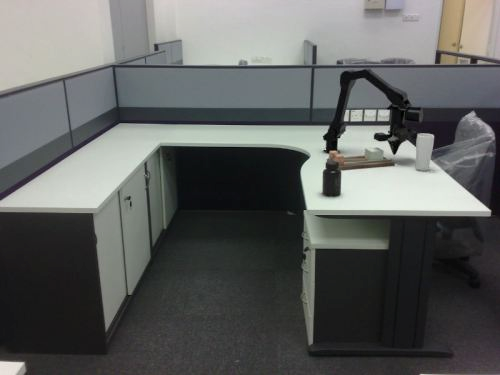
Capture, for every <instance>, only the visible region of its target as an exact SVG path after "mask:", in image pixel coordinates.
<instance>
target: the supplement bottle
mask: <svg viewBox="0 0 500 375" xmlns="http://www.w3.org/2000/svg"><path fill="white" fill-rule="evenodd" d="M324 166H325V168H324V169H323V171H322V184H321V185H322V186H321V187H322V189H321V190H322V194H323V195H324V196H326V197H338V196H340V194H342V170H340V169H338V168H339V162H337V161H327V160H326V162H325V165H324Z"/></svg>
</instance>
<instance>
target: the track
mask: <svg viewBox="0 0 500 375" xmlns="http://www.w3.org/2000/svg"><path fill="white" fill-rule="evenodd" d="M327 161H337V162H339V168H338V169H340V170H341V171H350V170H362V169H374V168H385V167H395V161H393V159H392V158H387V157H385V156H384V155H383V159H382V160H370V161H369V160H367V159H365V154H364V155H352V156H344V155H343V154H341V153H338V152H337V151H329V153H328V158H326V162H327Z"/></svg>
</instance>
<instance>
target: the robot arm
mask: <svg viewBox="0 0 500 375" xmlns="http://www.w3.org/2000/svg"><path fill="white" fill-rule="evenodd" d="M361 79H364V80H365V81H367V82H369V83H370V84H371V85H373V86H374V87H375V88H376V89H378V90H379V91H380V92H382V94H384V95H385V97H386V98H387V100H388V101H389V102H390V103H391V104H390V105H389V106H388V107H386V110H387V111H391V112H390V121H388V125H389V130H388V131H387V133H385V132H383V131H382V132H375V133H374V134H373V140H375V141H377V142H388V143H387V144H388V145H389V148H390V151H391V153H392V155H393V156H394V155H397V152H398V150H399V148H400V146H402V144H403V143H404V142H406V141H409V139H411V140H417V135H418V134H419V133H418V132H416V131H415V130H414V128H413V127H411V128H406V123H405V121H406V122H408V123H410V122H411V123H419V124H420V123H422V121H423V118H424V111H423V106H415V105H414V106H413V105H412V103H411V102H410V100H409V98H408V93H407V92H406V91H404V90H402V89H400V88H399V87H395V86H394V85H391V84H390V83H388V82H387V81H386V80H384V79H383V78H382V77H380V76H379V75H378V74H377V73H375V72H374V71H373V70H372V69H371V68H364V69H360V70H354V69H349V70H344V71H342V72H341V73H340V75H339V87H340V92H339V96H338V100H337V104H336V107H335V111H334V112H335V113H334V116H333V119H332V121H331V123H330V124H329V125H328V126H329V127H328V129H327V132H326V133H324V135H323V136H322V138H323V139H322V140H323V141H325V149H326V150H325V151H326V152H327V153H326V152H325V151H324V152H325V153H326V154H329V151H337V152H341V151H340V150H338V145H339V144H338V143H339V139H340V138H341V136H342V135H344V133H345V132H346V129H347V126H348V123H345V115H346V112H347V107H348V103H349V99H350V95H351V92H352V89H353V88H354V86H355V84H356V83H357V80H361Z"/></svg>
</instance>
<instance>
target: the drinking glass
mask: <svg viewBox="0 0 500 375" xmlns="http://www.w3.org/2000/svg"><path fill="white" fill-rule="evenodd" d="M417 134H418V135H417V139H416V140H415V141H416V144H415V169H416V171H420V172H426V171H429V168H430V165H431V164H430V163H431V158H432V154H433V149H434V143H435V142H434V141H435V135H434V134H431V133H417Z"/></svg>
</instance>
